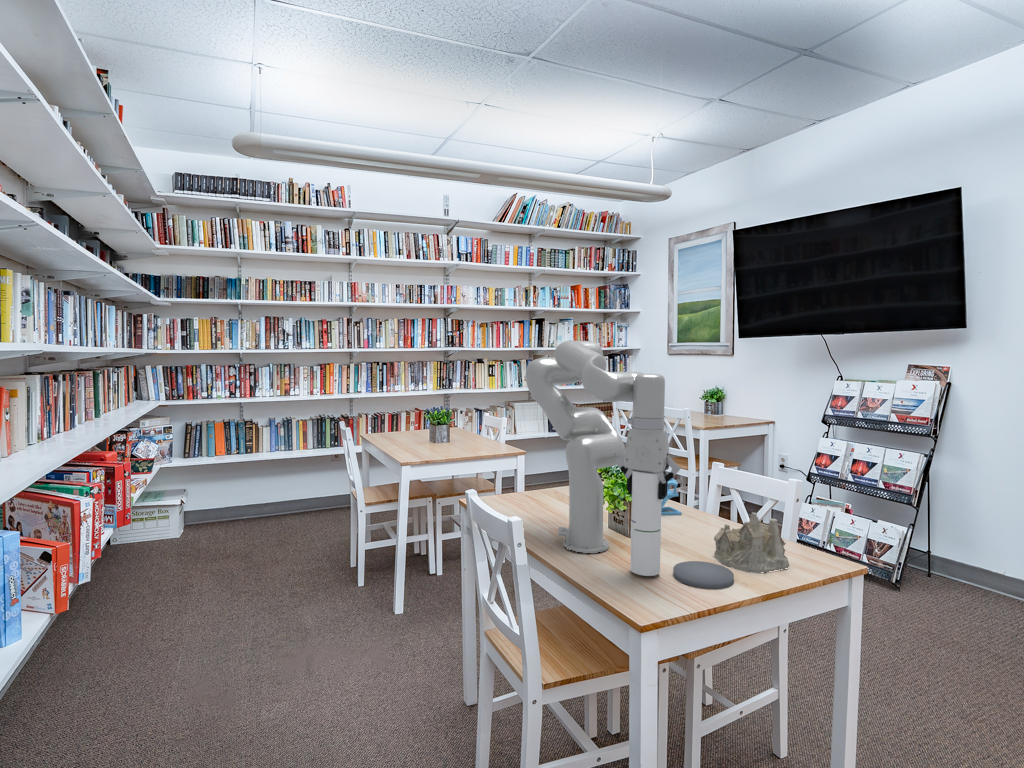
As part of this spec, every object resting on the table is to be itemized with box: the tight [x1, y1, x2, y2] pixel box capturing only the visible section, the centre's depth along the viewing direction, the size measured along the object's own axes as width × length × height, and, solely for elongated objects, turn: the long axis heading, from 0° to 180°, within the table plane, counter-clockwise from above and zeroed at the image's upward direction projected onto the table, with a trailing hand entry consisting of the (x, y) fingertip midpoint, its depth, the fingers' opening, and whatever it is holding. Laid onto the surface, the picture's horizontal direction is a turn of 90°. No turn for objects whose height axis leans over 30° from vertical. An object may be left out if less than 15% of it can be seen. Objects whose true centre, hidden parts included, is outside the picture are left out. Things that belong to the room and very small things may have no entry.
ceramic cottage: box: [713, 512, 790, 574], centre depth 152 cm, size 16×16×15 cm
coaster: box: [672, 560, 735, 590], centre depth 141 cm, size 14×14×2 cm
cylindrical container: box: [630, 470, 663, 577], centre depth 143 cm, size 7×7×25 cm
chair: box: [661, 477, 682, 516], centre depth 199 cm, size 8×8×12 cm
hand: (646, 495), depth 143 cm, fingers closed on cylindrical container, 7 cm apart
